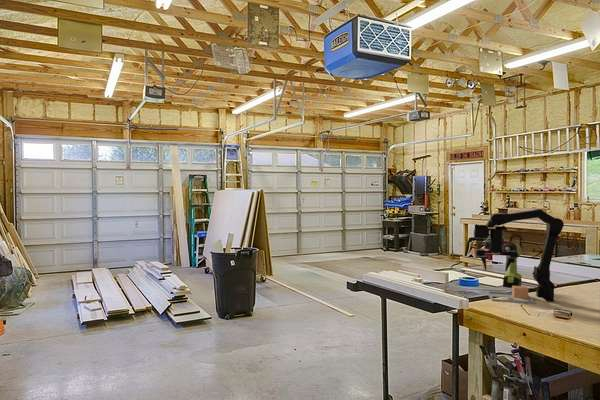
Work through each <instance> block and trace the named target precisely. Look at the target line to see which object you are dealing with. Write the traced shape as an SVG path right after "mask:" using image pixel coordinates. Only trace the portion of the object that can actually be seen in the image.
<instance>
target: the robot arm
mask: <svg viewBox="0 0 600 400" xmlns="http://www.w3.org/2000/svg"><path fill="white" fill-rule="evenodd" d="M537 218H538V219H539V220H540V221H542V222H543V223H545V224H546V227H545V228H546V229H545V230H546V237H545V242H544V244H543V245H544V246H543V250H542V254H541V256H540V257H541V258H540V261H539V264H537V265H538V266H535V265H534V267H533V272H532V273H531V274H532V276H533V279H534V280H535V282H537V284H538V286H537V288H536V291H535V293H536V297H537V298H542V299H543V300H544V301H546V302H550V303H551V302H552V303H553V302H554V303H555V302H556V300H555V287H556V285H555V283H553V281H551V270H550V269H551V268H550V266H551V262H552V258H553V254H554V251H555V246H556V243H557V239H558V237H559V235H560V234H561V232H562V231H563V228H564V226H565V225H564V223H565V222H564V221H563V220H562V219H560V218H558V217H554V216H552V215H550V214H549V213H547V212H545V211H544V210H543V209H540V208H536V209H532V210H526V211H525V210H524V211H517V212H511V213H508V212H506V213H502V212H500V213H499V212H495V213H492V214H491V215H490V217H489V221H487V223H485V224H474V227H473V229H474V230H473V239H487V238H488V237H489V241H488V242H487V241H485V242H484V249H483V248H476V249H475V250H474V255H475V256H476V257H478V258H479V259H480V260H481V262H482V265H483V268H484V270H485V271H487V257H486V256H506V258H505V259H506V260H505V269H504V271H505V272H507V271H508V270H509V265H510V263H511V262H512V260H513V259H515V258H517V259H518V258H519V256H518V253H517V252H516V251H513V250H507V252H504V247H503V246H504V245H503V244H504V242H503V241H504V231H508V228H507V227H506V226H505V225H506V224H508V223H511V222H515V221H523V220H531V219H537Z"/></svg>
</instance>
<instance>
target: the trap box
mask: <svg viewBox="0 0 600 400" xmlns="http://www.w3.org/2000/svg"><path fill="white" fill-rule="evenodd" d="M485 292H486V294H487V296H488V297H489V299H490V300H491V301H492V302H502V303H505V302H507V303H515V304H516V303H520V304H533V305H535V304H536V301H535V300H534V299H533V298H532V297H531V296H530V295H528V298H515V297H513V296H512V292H508V291H507V292H505V291H491V290H490V291H488V290H487V291H485ZM494 297H497V298H494ZM500 298H501V299H500ZM502 298H507V299H502ZM514 299H515V300H514ZM516 299H517V300H516ZM518 299H519V300H518Z"/></svg>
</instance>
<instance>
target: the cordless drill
mask: <svg viewBox="0 0 600 400" xmlns="http://www.w3.org/2000/svg"><path fill="white" fill-rule="evenodd" d="M503 246H504V247H503V252H507V250H513V251H516V252H517V253H518V257H519V256H521V254H522V253H523V252H522V251H523V250H522V248H521V246H520V245H519V244H518V243H516V242H511V241H510V242H507V243H506V244H505V245H503ZM517 259H518V258H515V259H513V260H512V262H511V263H510V265H509V267H508V270H509V271H508V272H507V273H505V274H504V276H503V279H502V280H503V281H502V288H509V289H512V286H522V277H523V276H522V275H523V274H521V273H519V272H518V267H517V266H518V261H517Z"/></svg>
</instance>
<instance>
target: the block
mask: <svg viewBox="0 0 600 400" xmlns="http://www.w3.org/2000/svg"><path fill="white" fill-rule="evenodd" d="M511 293H512V296H513V297H515V298H514V299H516V298H528V296H529V288H528V287H527V286H523V285H521V286H512V288H511Z"/></svg>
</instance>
